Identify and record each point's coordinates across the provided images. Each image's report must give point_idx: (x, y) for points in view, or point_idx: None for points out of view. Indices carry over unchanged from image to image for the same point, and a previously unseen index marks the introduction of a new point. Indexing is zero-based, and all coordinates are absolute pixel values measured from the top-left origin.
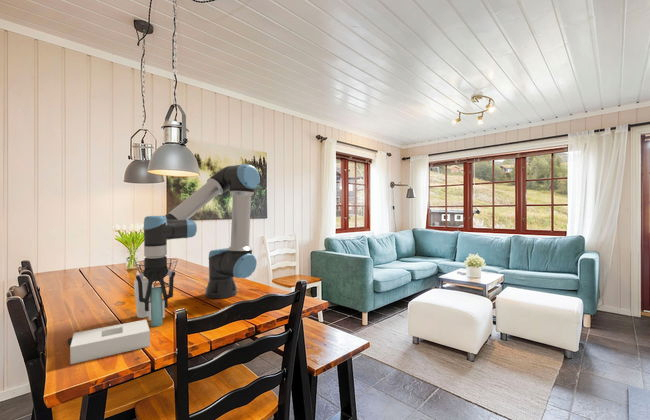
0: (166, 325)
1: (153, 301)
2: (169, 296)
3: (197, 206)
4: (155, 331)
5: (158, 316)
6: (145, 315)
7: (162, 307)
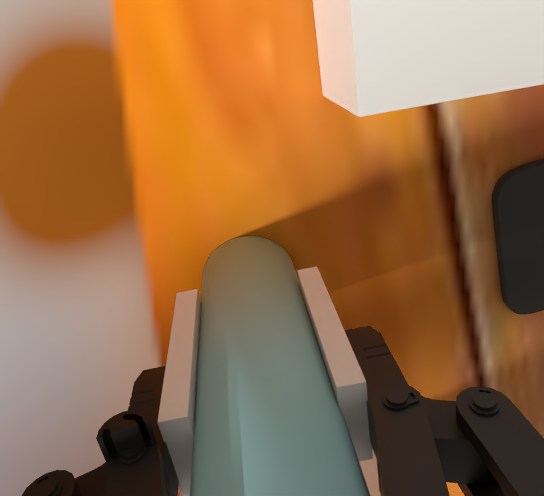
0: (164, 229)
1: (308, 396)
2: (78, 489)
3: None
4: (247, 114)
5: (233, 279)
6: None
7: (191, 355)
